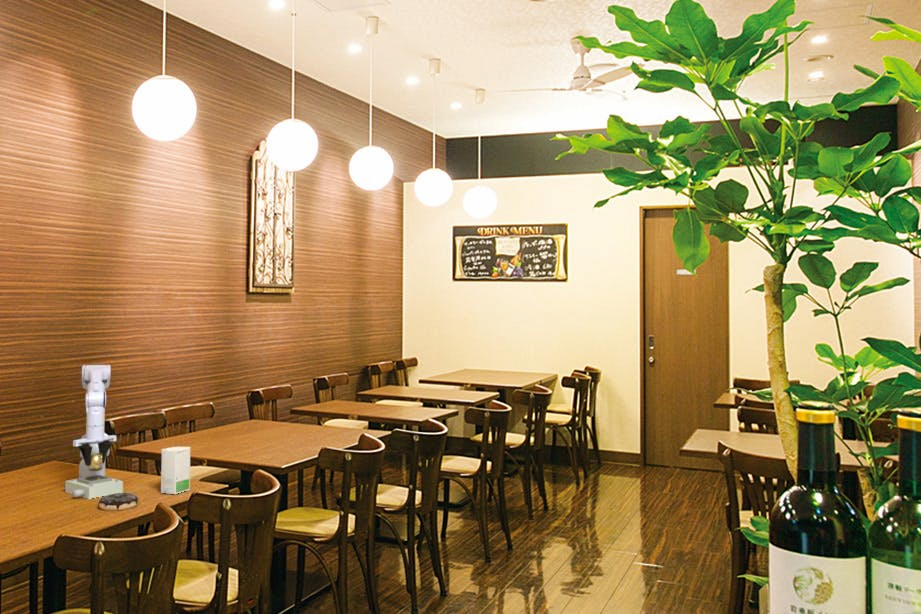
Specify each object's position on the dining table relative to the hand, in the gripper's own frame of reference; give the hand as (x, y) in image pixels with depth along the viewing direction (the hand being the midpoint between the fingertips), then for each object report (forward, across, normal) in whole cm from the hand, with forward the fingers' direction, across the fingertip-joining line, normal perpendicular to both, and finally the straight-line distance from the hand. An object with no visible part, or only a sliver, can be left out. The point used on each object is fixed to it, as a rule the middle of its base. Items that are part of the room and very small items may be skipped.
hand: (94, 464), depth 257 cm
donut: (+10, -5, -25) cm, 27 cm away
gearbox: (+10, -2, 0) cm, 10 cm away
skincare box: (+10, +18, -21) cm, 29 cm away
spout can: (+2, 0, 0) cm, 2 cm away
